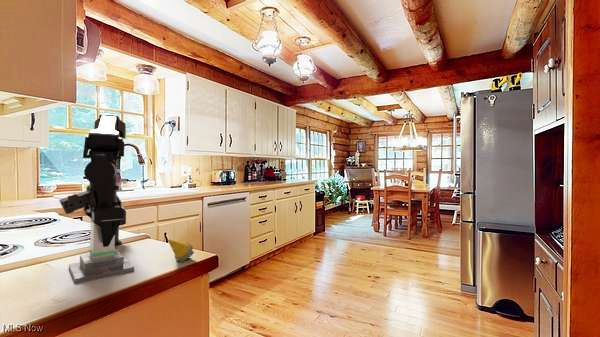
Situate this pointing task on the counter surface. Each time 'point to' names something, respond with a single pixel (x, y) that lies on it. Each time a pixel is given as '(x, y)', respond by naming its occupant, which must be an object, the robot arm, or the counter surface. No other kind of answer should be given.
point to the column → (99, 244)
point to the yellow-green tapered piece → (181, 250)
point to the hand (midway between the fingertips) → (102, 242)
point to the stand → (99, 267)
